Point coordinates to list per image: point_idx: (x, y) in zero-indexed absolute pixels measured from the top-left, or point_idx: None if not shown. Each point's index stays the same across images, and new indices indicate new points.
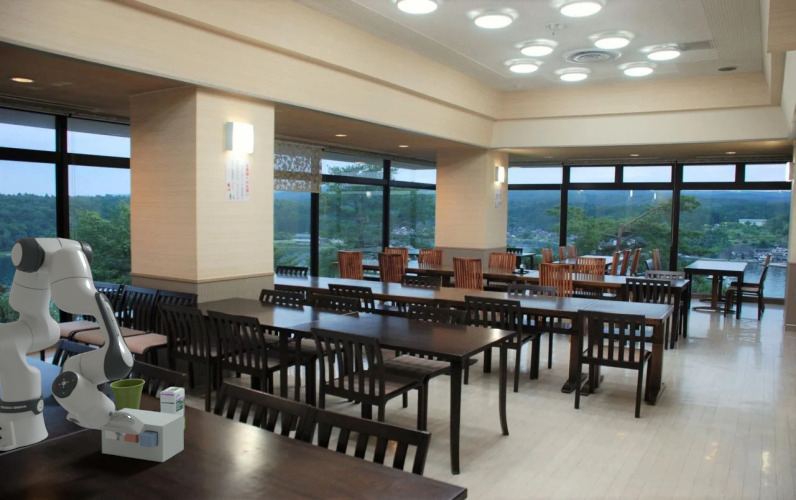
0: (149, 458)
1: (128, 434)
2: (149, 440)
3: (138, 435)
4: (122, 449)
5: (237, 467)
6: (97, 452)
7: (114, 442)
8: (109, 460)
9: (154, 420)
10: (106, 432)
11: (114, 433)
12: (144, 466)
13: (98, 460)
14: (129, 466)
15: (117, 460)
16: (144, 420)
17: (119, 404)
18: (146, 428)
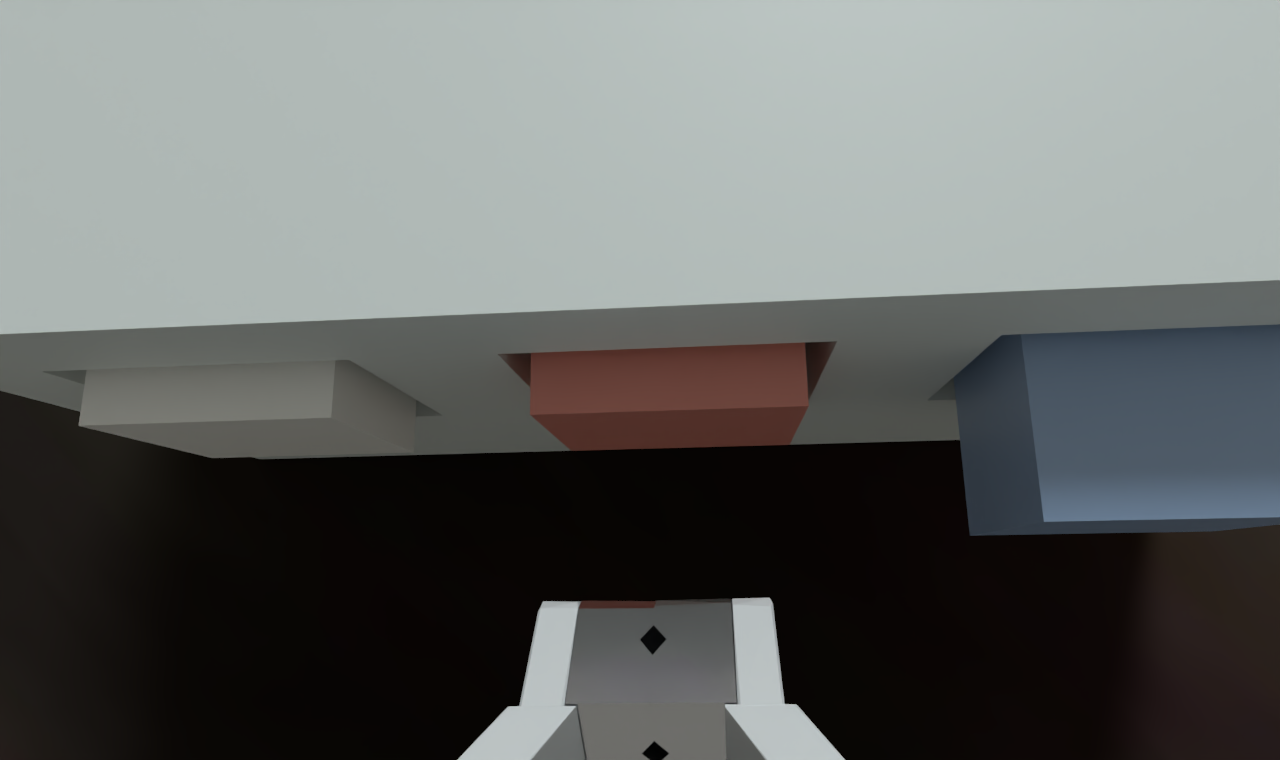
0: (955, 435)
1: (643, 429)
2: (1241, 524)
3: (820, 374)
4: (533, 438)
5: None
6: (197, 461)
7: None
8: (487, 605)
9: (1098, 30)
10: (175, 444)
11: (338, 435)
12: (1034, 613)
13: (360, 649)
14: (853, 676)
15: (579, 573)
16: (864, 112)
17: None
18: (1066, 319)
